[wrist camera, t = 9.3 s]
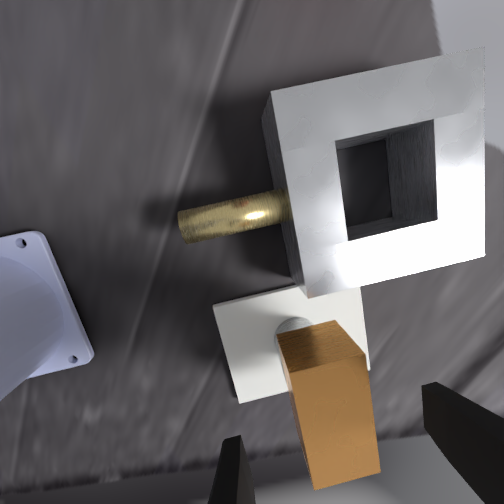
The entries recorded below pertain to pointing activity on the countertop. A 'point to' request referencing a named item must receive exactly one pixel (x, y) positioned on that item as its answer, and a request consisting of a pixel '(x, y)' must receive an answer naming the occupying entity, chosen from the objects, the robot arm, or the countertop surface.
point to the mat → (265, 324)
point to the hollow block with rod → (399, 169)
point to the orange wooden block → (329, 400)
